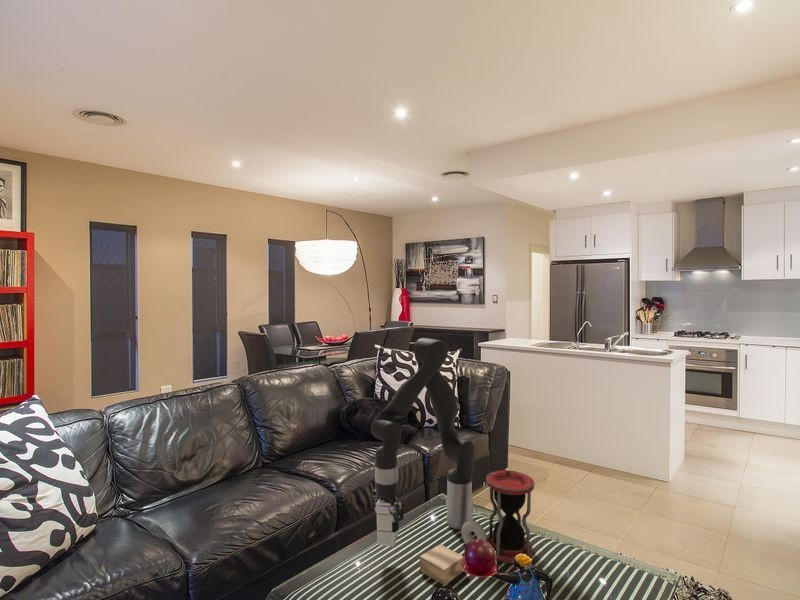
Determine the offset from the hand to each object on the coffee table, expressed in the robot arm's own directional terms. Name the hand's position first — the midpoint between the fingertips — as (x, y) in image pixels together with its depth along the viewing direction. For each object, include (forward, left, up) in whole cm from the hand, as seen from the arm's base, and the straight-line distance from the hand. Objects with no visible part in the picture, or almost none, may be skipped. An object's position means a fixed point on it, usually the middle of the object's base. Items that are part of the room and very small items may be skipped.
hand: (387, 526), depth 159 cm
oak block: (-10, +16, -12) cm, 22 cm away
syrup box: (0, 0, -5) cm, 5 cm away
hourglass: (-36, +23, -12) cm, 44 cm away
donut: (-27, +15, -12) cm, 33 cm away
